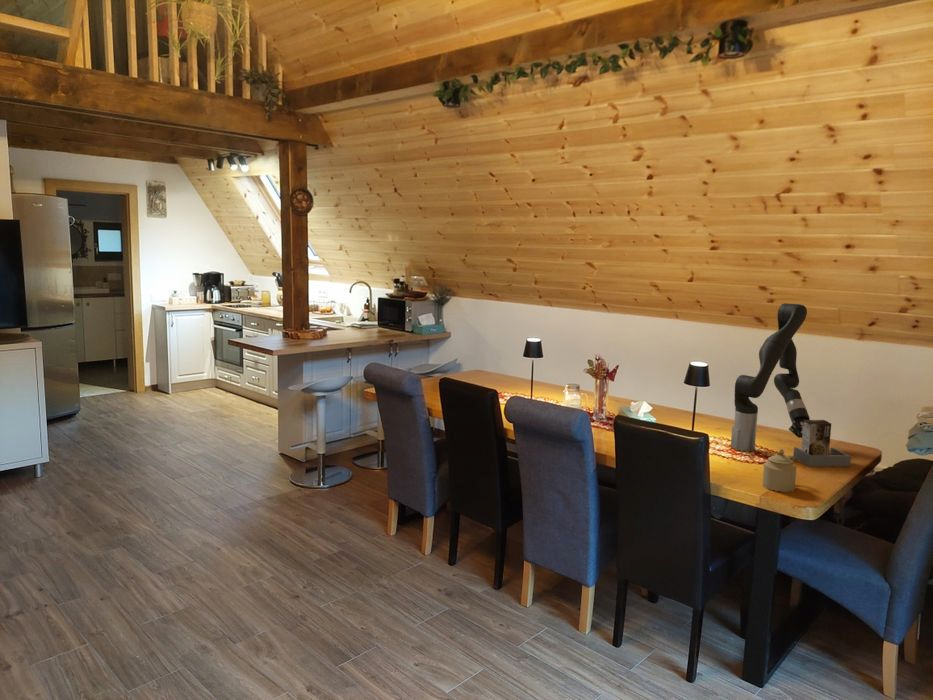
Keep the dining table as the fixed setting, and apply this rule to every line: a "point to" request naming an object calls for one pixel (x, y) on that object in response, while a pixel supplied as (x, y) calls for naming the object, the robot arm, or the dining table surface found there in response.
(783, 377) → the robot arm
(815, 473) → the dining table surface
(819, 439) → the coffee box
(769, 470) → the sugar bowl
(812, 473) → the dining table surface
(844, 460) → the box
